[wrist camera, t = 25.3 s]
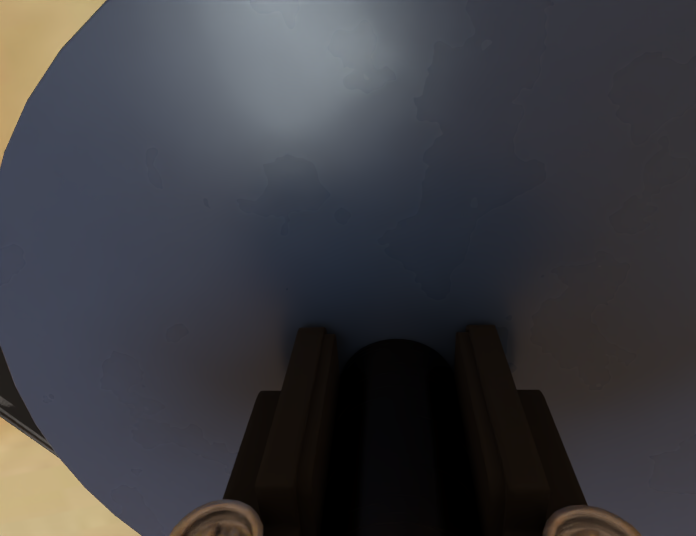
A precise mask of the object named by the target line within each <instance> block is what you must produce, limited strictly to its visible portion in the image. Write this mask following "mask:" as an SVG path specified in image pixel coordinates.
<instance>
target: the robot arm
mask: <svg viewBox="0 0 696 536" xmlns="http://www.w3.org/2000/svg"><path fill="white" fill-rule="evenodd" d="M454 379H455V384H456V390H457V396H458V401H459V407H460V413H461V418H462V424H463V429H464V435H465V441H466V446H467V452H468V458H469V463H470V469H471V475H472V480H473V486H474V492H475V497H476V503H477V509H478V514H479V520H480V525H481V531H482V536H642V535H641V534H640V533H639V532H638V531H637V530H636V529H635V528H634V527H633V526H632V525H631V524H630V523H628V522H627V521H625V520H624V519H622V518H621V517H619V516H618V515H616V514H614V513H611V512H609V511H606V510H604V509H602V508H599V507H593V506H588V505H587V502H586V500H585V497H584V495H583V492H582V490H581V487H580V485H579V482H578V480H577V477H576V475H575V472H574V470H573V467H572V465H571V462H570V460H569V457H568V455H567V452H566V450H565V447H564V445H563V442H562V440H561V437H560V435H559V432H558V430H557V427H556V425H555V422H554V420H553V417H552V415H551V412H550V410H549V407H548V405H547V402H546V400H545V397H544V395H543V394H542V392H541V391H540V390H517V389H516V386H515V383H514V380H513V377H512V374H511V371H510V368H509V365H508V362H507V359H506V356H505V353H504V350H503V347H502V344H501V341H500V338H499V335H498V332H497V329H496V327H495V325H467V326H466V332H457V333H456V341H455V368H454ZM339 385H340V373H339V362H338V350H337V339H336V334H327V331H326V328H325V327H305V328H299V329H298V332H297V335H296V339H295V342H294V346H293V350H292V353H291V357H290V360H289V364H288V368H287V371H286V375H285V378H284V382H283V386H282V389H281V391H260V392H259V394H258V396H257V398H256V401H255V404H254V407H253V410H252V413H251V416H250V419H249V422H248V425H247V428H246V431H245V434H244V437H243V440H242V442H241V445H240V448H239V451H238V454H237V457H236V460H235V463H234V466H233V469H232V472H231V475H230V478H229V481H228V484H227V487H226V490H225V493H224V496H223V499H222V500H217V501H211V502H209V503H206V504H204V505H201V506H199V507H197V508H195V509H194V510H193V511H191V512H190V513H188V514H187V515H185V516H184V517H183V518H182V519H181V520H180V522H179V523H178V524H177V525H176V526H175V527H174V528H173V530H172V532H171V534H170V536H320V531H321V524H322V516H323V508H324V501H325V493H326V485H327V478H328V470H329V462H330V454H331V447H332V439H333V431H334V424H335V416H336V408H337V401H338V393H339Z"/></svg>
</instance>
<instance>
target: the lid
mask: <svg viewBox="0 0 696 536" xmlns="http://www.w3.org/2000/svg"><path fill="white" fill-rule="evenodd" d="M467 325H495V327H496V329H497V332H498V335H499V338H500V341H501V344H502V347H503V350H504V353H505V356H506V359H507V362H508V365H509V368H510V371H511V374H512V377H513V380H514V383H515V386H516V389H517V390H540V391H541V392H542V394H543V395H544V397H545V400H546V402H547V405H548V407H549V410H550V412H551V415H552V417H553V420H554V422H555V425H556V427H557V430H558V432H559V435H560V437H561V440H562V442H563V445H564V447H565V450H566V452H567V455H568V457H569V460H570V462H571V465H572V467H573V470H574V472H575V475H576V477H577V480H578V482H579V485H580V487H581V490H582V492H583V495H584V497H585V500H586V502H587V505H588V506H593V507H599V508H602V509H604V510H606V511H609V512H611V513H614V514H616V515H618V516H619V517H621V518H622V519H624V520H625V521H627V522H628V523H630V524H631V525H632V526H633V527H634V528H635V529H636V530H637V531H638V532H639V533H640V534H641V535H642V536H696V0H106V1H105V2H104V3H103V4H102V6H101V7H100V8H99V9H98V10H97V11H96V12H95V13H94V14H93V15H92V16H91V17H90V18H89V20H88V21H87V22H86V23H85V24H84V25H83V26H82V27H81V28H80V29H79V30H78V31H77V32H76V33H75V35H74V36H73V37H72V38H71V39H70V40H69V41H68V42H67V43H66V44H65V45H64V46H63V47H62V49H61V50H60V51H59V53H58V54H57V56H56V57H55V59H54V60H53V62H52V64H51V65H50V67H49V68H48V70H47V71H46V73H45V74H44V76H43V77H42V79H41V80H40V82H39V83H38V85H37V86H36V88H35V89H34V91H33V92H32V94H31V95H30V97H29V98H28V100H27V102H26V104H25V107H24V109H23V111H22V113H21V116H20V118H19V120H18V122H17V125H16V127H15V129H14V132H13V134H12V136H11V138H10V141H9V143H8V145H7V147H6V150H5V152H4V156H3V160H2V163H1V167H0V346H1V349H2V352H3V354H4V357H5V360H6V362H7V365H8V368H9V370H10V373H11V376H12V378H13V381H14V384H15V386H16V388H17V390H18V392H19V394H20V396H21V398H22V400H23V401H24V403H25V405H26V407H27V409H28V411H29V413H30V415H31V417H32V419H33V420H34V422H35V424H36V425H37V427H38V428H39V430H40V431H41V433H42V434H43V436H44V437H45V438H46V440H47V441H48V443H49V444H50V446H51V447H52V449H53V450H54V451H55V453H56V454H57V456H58V457H59V458H60V459H61V461H62V462H63V463H64V464H65V465H66V466H67V467H68V469H69V470H70V471H71V472H72V473H73V474H74V476H75V477H76V478H77V479H78V480H79V481H80V482H81V484H82V485H83V486H84V487H85V488H86V489H87V490H88V491H89V492H90V493H91V494H92V495H94V496H95V497H96V498H97V499H98V500H99V501H100V502H101V503H102V504H103V505H104V506H105V507H106V508H108V509H109V510H110V511H111V512H112V513H113V514H114V515H115V516H116V517H118V518H119V519H120V520H122V521H123V522H124V523H126V524H127V525H128V526H130V527H131V528H132V529H134V530H135V531H136V532H138V533H139V534H140V535H141V536H170V534H171V532H172V530H173V528H174V527H175V526H176V525H177V524H178V523H179V522H180V520H181V519H182V518H183V517H184V516H185V515H187V514H188V513H190V512H191V511H193V510H194V509H195V508H197V507H199V506H201V505H204V504H206V503H209V502H211V501H217V500H222V499H223V496H224V493H225V490H226V487H227V484H228V481H229V478H230V475H231V472H232V469H233V466H234V463H235V460H236V457H237V454H238V451H239V448H240V445H241V442H242V440H243V437H244V434H245V431H246V428H247V425H248V422H249V419H250V416H251V413H252V410H253V407H254V404H255V401H256V398H257V396H258V394H259V392H260V391H281V389H282V386H283V382H284V378H285V375H286V371H287V368H288V364H289V360H290V357H291V353H292V350H293V346H294V342H295V339H296V335H297V332H298V329H299V328H305V327H325V328H326V331H327V334H336V339H337V350H338V362H339V373H340V385H339V393H338V401H337V408H336V416H335V424H334V431H333V439H332V447H331V454H330V462H329V470H328V478H327V485H326V493H325V501H324V508H323V516H322V524H321V531H320V536H482V531H481V525H480V520H479V514H478V509H477V503H476V497H475V492H474V486H473V480H472V475H471V469H470V463H469V458H468V452H467V446H466V441H465V435H464V429H463V424H462V418H461V413H460V407H459V401H458V396H457V390H456V384H455V379H454V368H455V341H456V333H457V332H466V326H467Z"/></svg>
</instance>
